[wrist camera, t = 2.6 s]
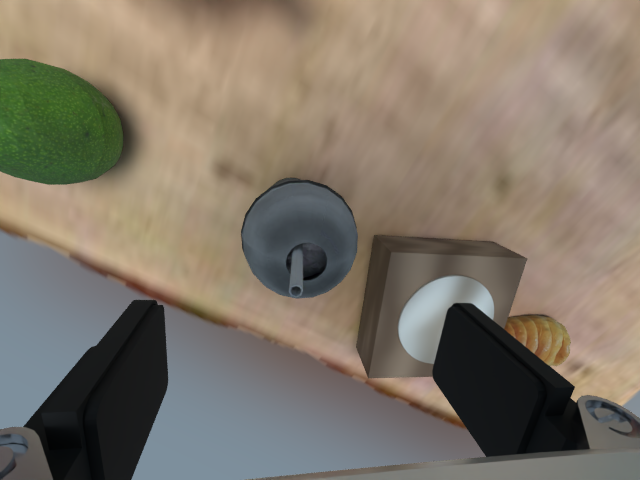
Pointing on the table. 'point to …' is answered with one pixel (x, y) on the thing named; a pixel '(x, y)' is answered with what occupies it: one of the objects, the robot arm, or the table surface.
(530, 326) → the pastry
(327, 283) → the beverage cup
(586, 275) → the table surface
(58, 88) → the fruit
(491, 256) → the walnut stand
